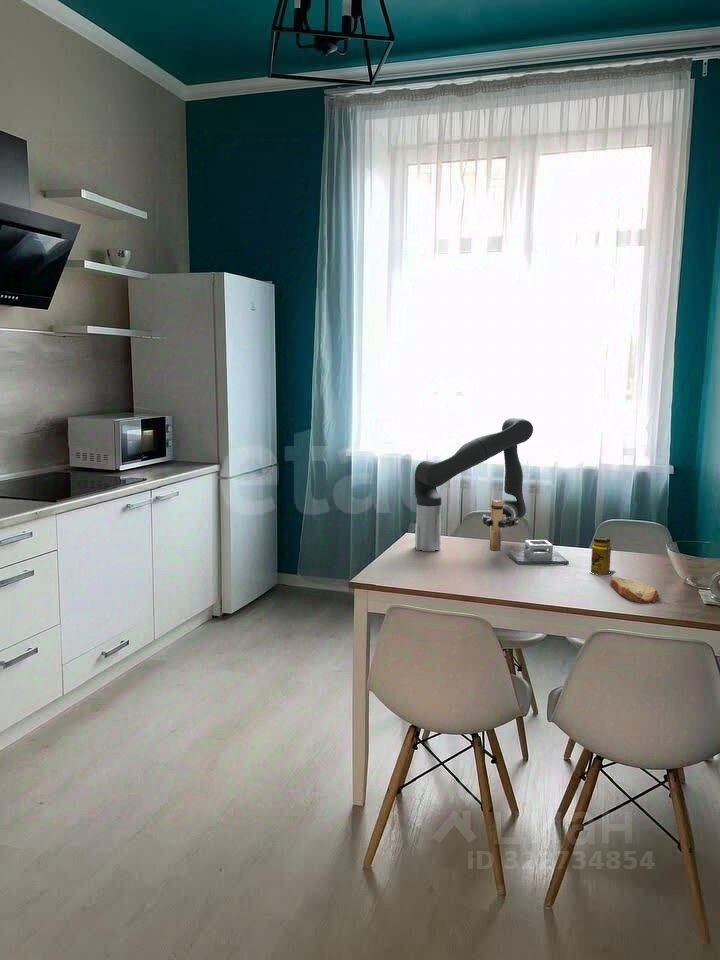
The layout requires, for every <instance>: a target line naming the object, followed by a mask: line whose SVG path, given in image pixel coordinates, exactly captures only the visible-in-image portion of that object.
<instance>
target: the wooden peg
mask: <svg viewBox="0 0 720 960" xmlns="http://www.w3.org/2000/svg"><path fill="white" fill-rule="evenodd" d="M490 508H491V511H490V512H491V513H490V515H491V526H489V527H490V530H489V547H488V548H489V549H488V550H489V551H491V552H500V551H501V549H502V547H501V546H502V529H503V528H500V522H501V521H502V514H503V500H500V499H499V500H498V499H492V500H491V504H490Z"/></svg>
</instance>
